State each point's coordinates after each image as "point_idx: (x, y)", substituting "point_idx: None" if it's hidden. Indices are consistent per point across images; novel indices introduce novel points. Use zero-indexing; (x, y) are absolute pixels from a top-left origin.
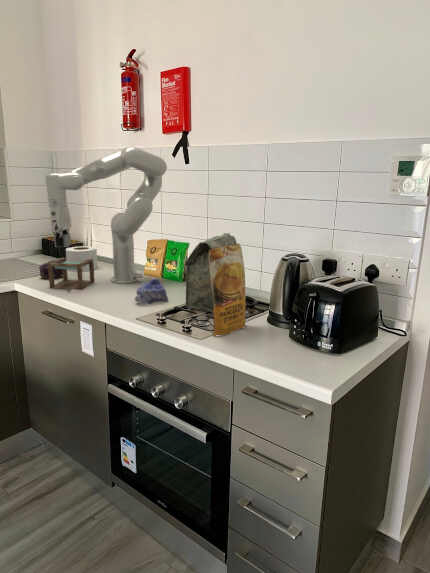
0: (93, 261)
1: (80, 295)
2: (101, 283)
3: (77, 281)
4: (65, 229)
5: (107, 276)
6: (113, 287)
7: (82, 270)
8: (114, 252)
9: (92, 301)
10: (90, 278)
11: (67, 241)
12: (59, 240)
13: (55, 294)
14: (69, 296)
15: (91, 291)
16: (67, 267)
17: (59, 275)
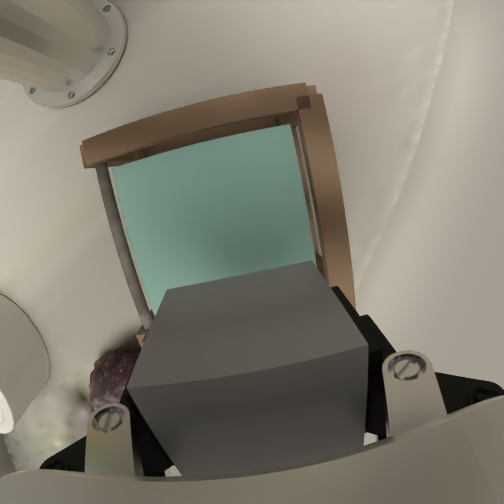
0: None
1: (366, 73)
2: (143, 102)
3: None
4: (340, 454)
5: (33, 169)
6: (191, 15)
7: (27, 320)
8: (23, 9)
9: (405, 6)
10: (143, 157)
11: (260, 299)
12: (386, 348)
13: (391, 180)
14: (395, 108)
15: (293, 59)
16: (304, 200)
17: (139, 351)
